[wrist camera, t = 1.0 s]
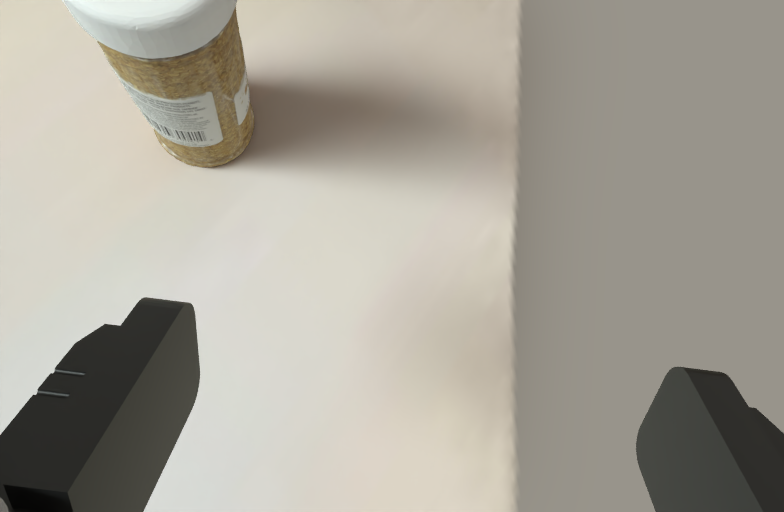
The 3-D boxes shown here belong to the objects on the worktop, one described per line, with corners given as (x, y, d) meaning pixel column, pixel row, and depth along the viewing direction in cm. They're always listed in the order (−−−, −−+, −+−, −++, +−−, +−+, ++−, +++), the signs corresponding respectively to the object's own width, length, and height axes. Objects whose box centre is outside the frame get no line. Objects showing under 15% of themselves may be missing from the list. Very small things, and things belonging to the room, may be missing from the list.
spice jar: (273, 115, 27) (272, -72, 14) (214, 189, 26) (155, 63, 13) (193, 56, 27) (115, -193, 14) (130, 130, 26) (-17, -62, 13)
